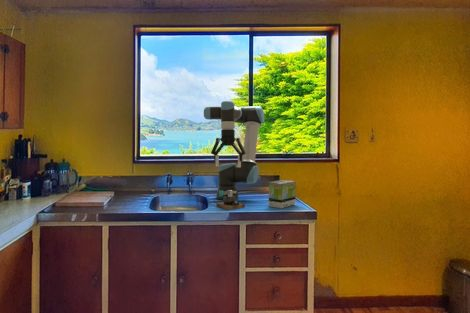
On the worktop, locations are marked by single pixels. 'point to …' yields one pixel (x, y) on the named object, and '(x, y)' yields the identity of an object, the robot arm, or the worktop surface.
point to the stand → (230, 207)
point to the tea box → (282, 193)
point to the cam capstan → (229, 198)
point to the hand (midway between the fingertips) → (228, 166)
